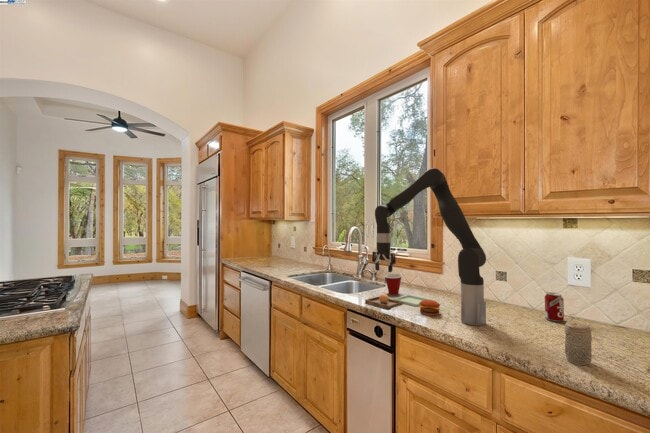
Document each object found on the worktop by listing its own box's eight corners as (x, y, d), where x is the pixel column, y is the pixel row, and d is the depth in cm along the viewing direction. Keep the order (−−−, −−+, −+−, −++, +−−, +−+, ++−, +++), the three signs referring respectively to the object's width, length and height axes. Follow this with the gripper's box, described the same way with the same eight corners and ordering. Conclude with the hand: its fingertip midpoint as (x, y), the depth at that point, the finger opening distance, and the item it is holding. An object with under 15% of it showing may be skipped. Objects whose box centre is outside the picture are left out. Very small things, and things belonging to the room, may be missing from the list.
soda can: (544, 320, 132) (543, 293, 132) (545, 316, 137) (545, 291, 137) (563, 323, 127) (562, 296, 128) (564, 320, 132) (563, 293, 133)
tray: (402, 305, 156) (402, 301, 156) (388, 309, 149) (388, 306, 149) (379, 299, 169) (379, 296, 169) (365, 303, 161) (365, 299, 161)
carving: (561, 361, 93) (560, 323, 93) (570, 355, 97) (569, 319, 97) (586, 369, 88) (585, 329, 88) (595, 363, 92) (594, 324, 92)
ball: (390, 303, 158) (390, 293, 159) (384, 304, 155) (384, 295, 155) (383, 301, 162) (382, 292, 162) (377, 303, 159) (377, 293, 159)
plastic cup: (380, 293, 183) (380, 274, 183) (394, 291, 188) (394, 273, 188) (391, 297, 173) (391, 277, 174) (405, 295, 178) (405, 275, 178)
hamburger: (419, 310, 148) (419, 297, 148) (440, 312, 145) (439, 298, 145) (418, 315, 139) (418, 301, 140) (440, 318, 136) (440, 303, 136)
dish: (431, 302, 161) (431, 299, 161) (416, 307, 152) (416, 304, 152) (408, 297, 173) (408, 294, 173) (392, 301, 163) (392, 298, 163)
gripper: (398, 241, 156) (398, 272, 156) (377, 240, 167) (377, 269, 167) (389, 242, 152) (390, 273, 151) (369, 241, 162) (369, 270, 162)
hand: (383, 271), depth 159 cm, fingers open, 8 cm apart
